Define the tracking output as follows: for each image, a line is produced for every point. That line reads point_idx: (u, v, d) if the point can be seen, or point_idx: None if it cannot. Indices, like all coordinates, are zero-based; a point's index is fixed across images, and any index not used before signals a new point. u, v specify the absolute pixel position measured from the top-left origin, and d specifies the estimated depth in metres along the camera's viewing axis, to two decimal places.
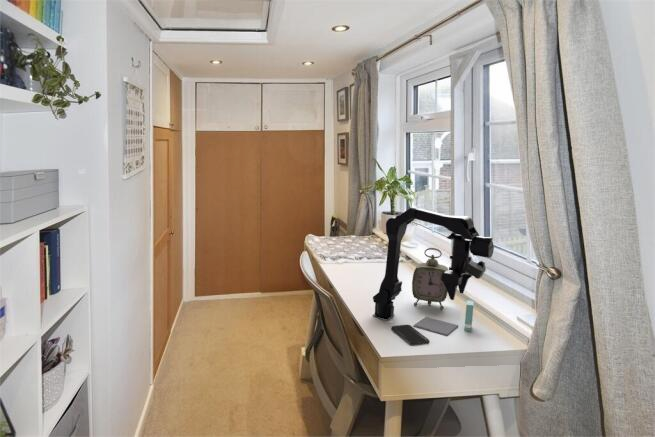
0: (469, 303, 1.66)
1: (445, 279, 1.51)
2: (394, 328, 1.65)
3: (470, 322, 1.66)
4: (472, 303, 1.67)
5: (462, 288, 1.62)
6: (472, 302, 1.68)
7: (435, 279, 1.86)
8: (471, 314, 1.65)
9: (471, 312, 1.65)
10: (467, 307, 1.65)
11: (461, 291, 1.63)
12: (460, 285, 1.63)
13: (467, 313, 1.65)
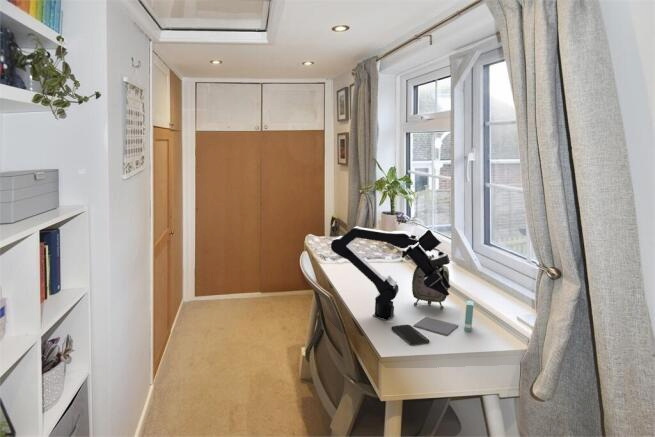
0: (469, 303, 1.66)
1: (429, 283, 1.61)
2: (394, 328, 1.65)
3: (470, 322, 1.66)
4: (472, 303, 1.67)
5: (446, 283, 1.73)
6: (472, 302, 1.68)
7: None
8: (471, 314, 1.65)
9: (471, 312, 1.65)
10: (467, 307, 1.65)
11: (448, 286, 1.73)
12: (443, 283, 1.74)
13: (467, 313, 1.65)
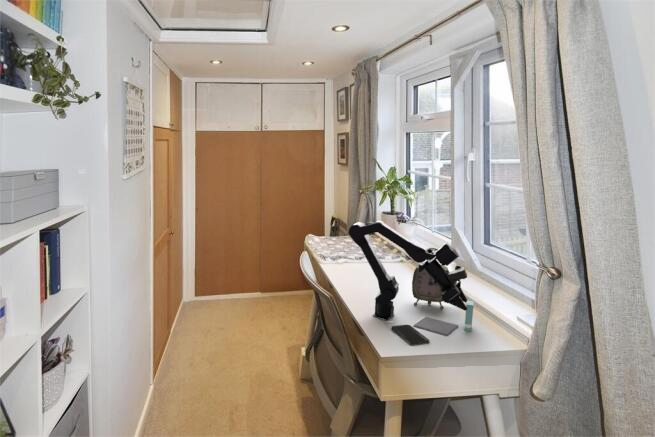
0: (469, 303, 1.66)
1: (448, 298, 1.60)
2: (394, 328, 1.65)
3: (470, 322, 1.66)
4: (472, 303, 1.67)
5: (463, 297, 1.72)
6: (472, 302, 1.68)
7: None
8: (471, 314, 1.65)
9: (471, 312, 1.65)
10: (467, 307, 1.65)
11: (465, 300, 1.72)
12: (460, 297, 1.72)
13: (467, 313, 1.65)
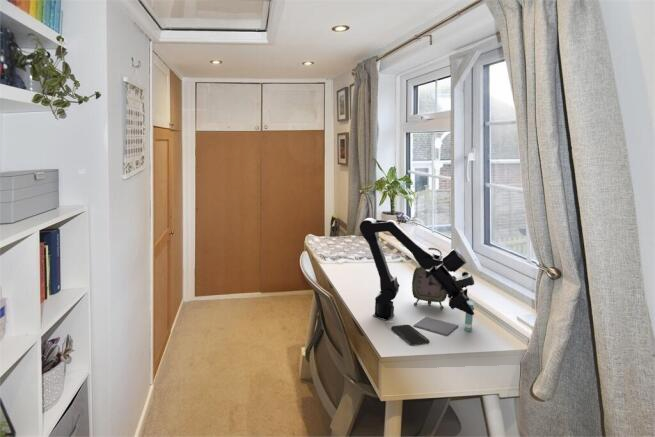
0: (469, 303, 1.66)
1: (455, 305, 1.60)
2: (394, 328, 1.65)
3: (470, 322, 1.66)
4: (472, 303, 1.67)
5: None
6: (472, 302, 1.68)
7: None
8: None
9: None
10: None
11: None
12: None
13: (467, 313, 1.65)
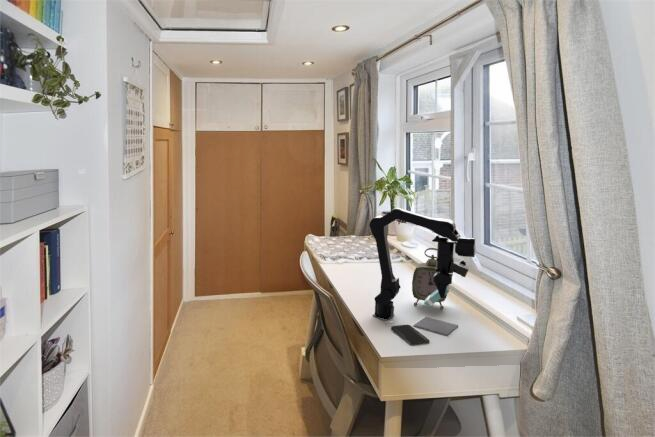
0: None
1: (438, 281, 1.58)
2: (394, 328, 1.65)
3: (434, 301, 1.67)
4: (448, 289, 1.67)
5: None
6: (448, 288, 1.68)
7: None
8: None
9: None
10: None
11: None
12: None
13: (438, 293, 1.66)
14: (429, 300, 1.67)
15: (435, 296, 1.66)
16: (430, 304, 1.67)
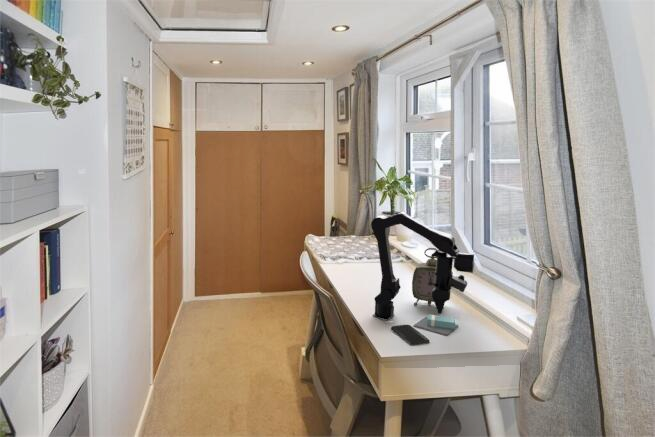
0: None
1: (437, 296, 1.59)
2: (394, 328, 1.65)
3: (436, 325, 1.68)
4: None
5: None
6: None
7: None
8: (445, 326, 1.67)
9: (447, 326, 1.67)
10: (452, 323, 1.66)
11: None
12: None
13: (446, 323, 1.67)
14: (433, 321, 1.68)
15: (441, 322, 1.67)
16: (431, 324, 1.68)
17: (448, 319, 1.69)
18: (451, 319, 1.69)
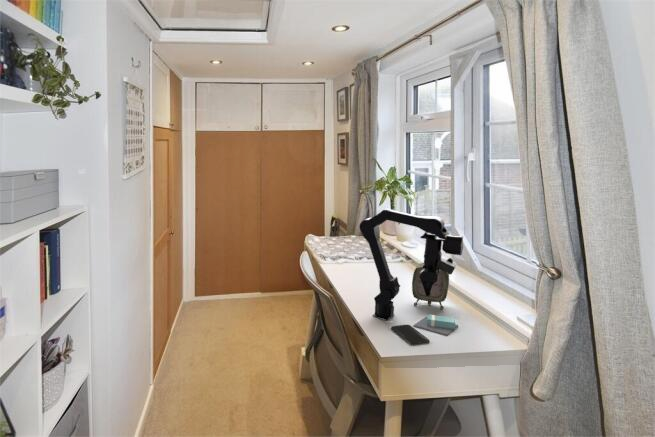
0: None
1: (425, 277, 1.59)
2: (394, 328, 1.65)
3: (436, 325, 1.68)
4: None
5: None
6: None
7: None
8: (445, 326, 1.67)
9: (447, 326, 1.67)
10: (452, 323, 1.66)
11: None
12: None
13: (446, 323, 1.67)
14: (433, 321, 1.68)
15: (441, 322, 1.67)
16: (431, 324, 1.68)
17: (448, 319, 1.69)
18: (451, 319, 1.69)
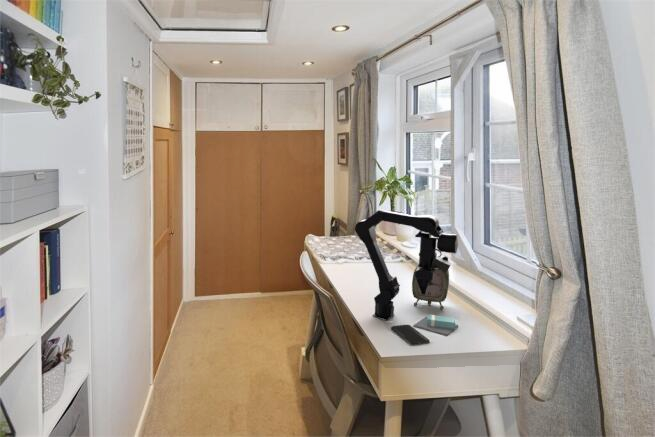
0: None
1: (420, 276, 1.60)
2: (394, 328, 1.65)
3: (436, 325, 1.68)
4: None
5: None
6: None
7: (435, 279, 1.86)
8: (445, 326, 1.67)
9: (447, 326, 1.67)
10: (452, 323, 1.66)
11: None
12: None
13: (446, 323, 1.67)
14: (433, 321, 1.68)
15: (441, 322, 1.67)
16: (431, 324, 1.68)
17: (448, 319, 1.69)
18: (451, 319, 1.69)
